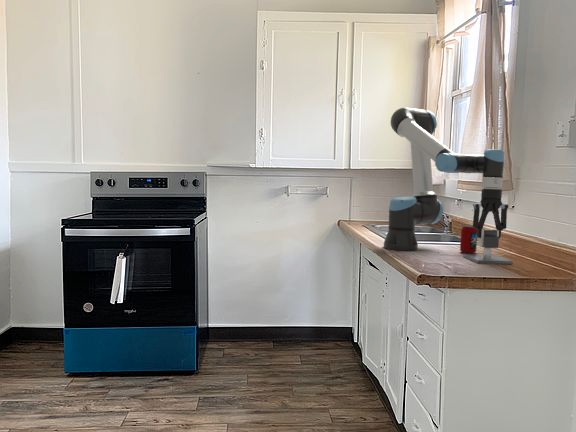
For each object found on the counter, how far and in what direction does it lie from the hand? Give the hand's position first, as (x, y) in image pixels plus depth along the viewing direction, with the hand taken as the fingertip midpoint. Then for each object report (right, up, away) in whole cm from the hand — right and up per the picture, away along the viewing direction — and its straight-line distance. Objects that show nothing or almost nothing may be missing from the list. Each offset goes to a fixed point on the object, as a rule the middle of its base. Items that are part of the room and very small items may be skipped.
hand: (488, 246), depth 202 cm
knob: (0, 0, 0) cm, 1 cm away
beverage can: (-1, -4, +20) cm, 20 cm away
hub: (0, -6, +1) cm, 6 cm away
